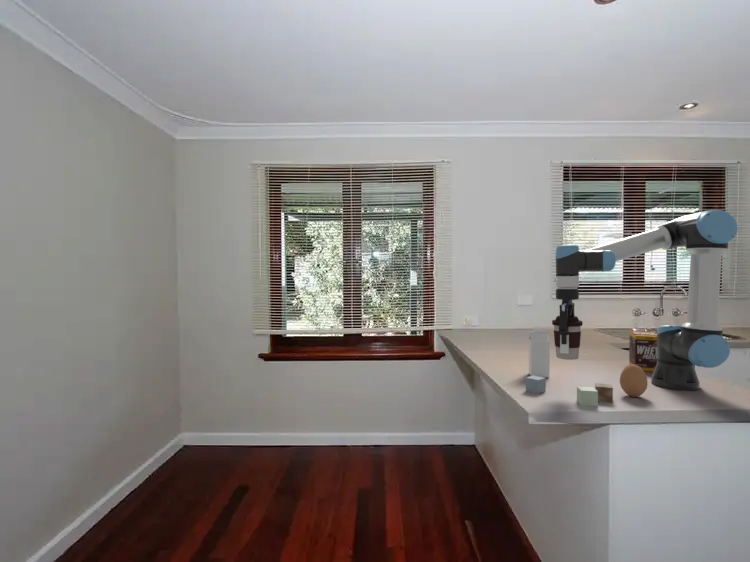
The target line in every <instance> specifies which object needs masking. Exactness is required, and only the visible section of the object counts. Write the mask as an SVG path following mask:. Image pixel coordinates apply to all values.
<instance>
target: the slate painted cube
mask: <svg viewBox="0 0 750 562" xmlns="http://www.w3.org/2000/svg"><path fill="white" fill-rule="evenodd" d="M546 378H547V377H538V376H531V375H530V376H527V377H525V391H526V392H530V393H532V394H533V393H534V394H542V393H545V392H546V386H547V385H546V381H547V380H546Z"/></svg>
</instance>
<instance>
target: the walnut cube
mask: <svg viewBox="0 0 750 562" xmlns="http://www.w3.org/2000/svg"><path fill="white" fill-rule="evenodd" d="M594 386H595V387H594V389H596V390H597V391H598V402H605V403H610V404H611V403H613V402H614V400H613V399H614V398H613V397H614V396H613V395H614V388H613V384H610V383H601V382H600V383H599V382H595V385H594Z"/></svg>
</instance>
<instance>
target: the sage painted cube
mask: <svg viewBox="0 0 750 562" xmlns="http://www.w3.org/2000/svg"><path fill="white" fill-rule="evenodd" d="M576 402H577V403H578V404H579V405H580V406H581V407H598V406H599V401H598V391H597V390H596V389H595V387H594V386H576Z"/></svg>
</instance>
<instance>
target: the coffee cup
mask: <svg viewBox="0 0 750 562" xmlns="http://www.w3.org/2000/svg"><path fill="white" fill-rule="evenodd" d="M559 317H560V315H557V316H556V318H555V319H552V320H551V323H552V325H553V337H554V339H553V341H554V346H555V355H556V358H557V359H561V360H568V361H569V360H578V359H579V356H580V355H579V354H580V346H581V337H582V330H581V327H582V326H583V321H582V320H579V317H578V316H576V315H575V316H571V317H569V322H567V324H568V327H569V329H568V335H569V354H565V353H560V335H559V334H558V332H559Z"/></svg>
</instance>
